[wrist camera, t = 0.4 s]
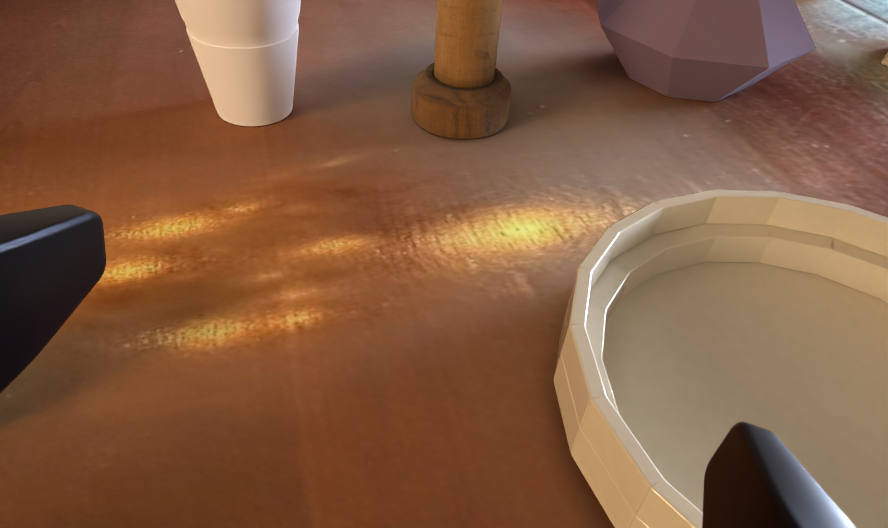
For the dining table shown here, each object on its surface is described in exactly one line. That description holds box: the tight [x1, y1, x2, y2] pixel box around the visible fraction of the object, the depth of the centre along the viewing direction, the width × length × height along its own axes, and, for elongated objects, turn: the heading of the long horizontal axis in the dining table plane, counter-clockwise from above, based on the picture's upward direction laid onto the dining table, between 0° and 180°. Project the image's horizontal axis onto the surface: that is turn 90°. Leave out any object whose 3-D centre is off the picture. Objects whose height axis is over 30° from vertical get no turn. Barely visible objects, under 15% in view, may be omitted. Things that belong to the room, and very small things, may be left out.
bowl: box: [554, 190, 888, 528], centre depth 25 cm, size 21×21×4 cm
